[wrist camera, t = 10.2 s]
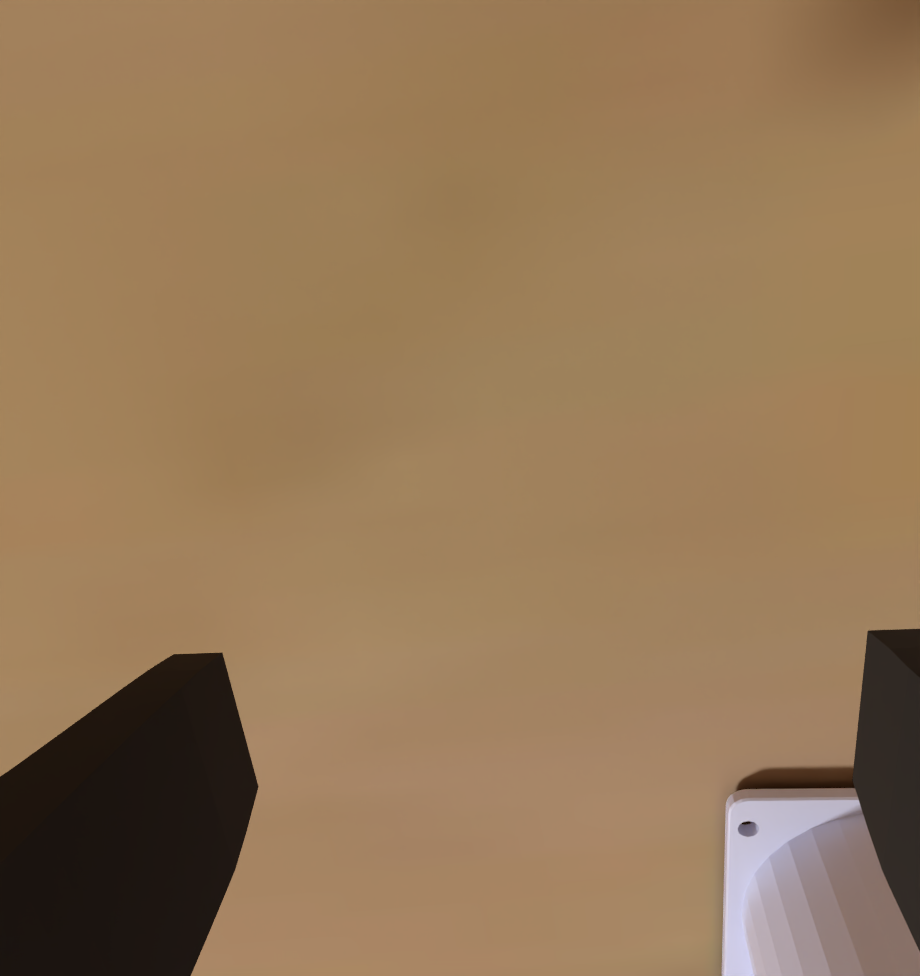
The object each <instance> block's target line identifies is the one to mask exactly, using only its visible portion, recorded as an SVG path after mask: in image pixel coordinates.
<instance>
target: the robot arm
mask: <svg viewBox="0 0 920 976" xmlns="http://www.w3.org/2000/svg"><path fill="white" fill-rule="evenodd" d="M852 780H853V784H854V787H855V788H809V789H744V790H738V791H736V792H734V793H732V794H731V795H730V796H729V798H728V799H727V802H726V822H725V863H724V904H723V944H722V976H920V629H902V630H873V631H868V634H867V644H866V654H865V663H864V673H863V683H862V692H861V702H860V712H859V721H858V731H857V741H856V750H855V760H854V770H853V779H852ZM257 790H258V784H257V780H256V776H255V773H254V769H253V765H252V761H251V758H250V754H249V750H248V747H247V743H246V739H245V735H244V732H243V728H242V724H241V721H240V717H239V713H238V710H237V706H236V702H235V698H234V695H233V691H232V687H231V684H230V680H229V676H228V672H227V669H226V665H225V661H224V658H223V654H222V653H200V654H174V655H172V656H170V657H169V658H167V659H165V660H164V661H162V662H161V663H159V664H157V665H156V666H154V667H153V668H151V669H150V670H148V671H147V672H145V673H144V674H142V675H141V676H140V677H138V678H137V679H135V680H134V681H132V682H131V683H130V684H128V685H127V686H125V687H124V688H123V689H121V690H120V691H118V692H117V693H116V694H114V695H113V696H112V697H110V698H109V699H107V700H106V701H105V702H103V703H102V704H101V705H99V706H98V707H96V708H95V709H94V710H92V711H91V712H90V713H88V714H87V715H86V716H84V717H83V718H81V719H80V720H79V721H77V722H76V723H75V724H73V725H72V726H70V727H69V728H68V729H66V730H65V731H63V732H62V733H61V734H59V735H58V736H57V737H55V738H54V739H52V740H51V741H50V742H48V743H47V744H46V745H44V746H43V747H41V748H40V749H39V750H37V751H36V752H35V753H33V754H32V755H30V756H29V757H28V758H26V759H25V760H24V761H22V762H21V763H19V764H18V765H17V766H15V767H14V768H12V769H11V770H10V771H8V772H7V773H5V774H4V775H2V776H1V777H0V976H191V973H192V971H193V969H194V966H195V964H196V962H197V959H198V957H199V955H200V952H201V950H202V948H203V945H204V943H205V941H206V938H207V936H208V934H209V931H210V929H211V926H212V924H213V922H214V919H215V917H216V914H217V912H218V910H219V907H220V905H221V903H222V900H223V898H224V895H225V893H226V891H227V888H228V886H229V883H230V881H231V878H232V876H233V873H234V871H235V868H236V865H237V861H238V858H239V855H240V851H241V848H242V845H243V841H244V838H245V835H246V831H247V827H248V824H249V820H250V816H251V812H252V809H253V805H254V801H255V797H256V794H257ZM747 821H750V822H752V823H751V824H747V825H743V824H741V823H743V822H747Z"/></svg>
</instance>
